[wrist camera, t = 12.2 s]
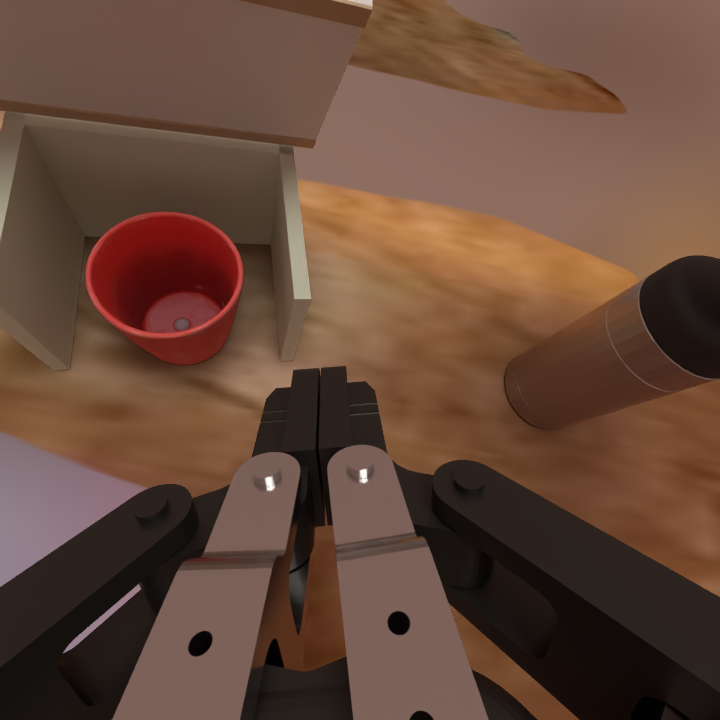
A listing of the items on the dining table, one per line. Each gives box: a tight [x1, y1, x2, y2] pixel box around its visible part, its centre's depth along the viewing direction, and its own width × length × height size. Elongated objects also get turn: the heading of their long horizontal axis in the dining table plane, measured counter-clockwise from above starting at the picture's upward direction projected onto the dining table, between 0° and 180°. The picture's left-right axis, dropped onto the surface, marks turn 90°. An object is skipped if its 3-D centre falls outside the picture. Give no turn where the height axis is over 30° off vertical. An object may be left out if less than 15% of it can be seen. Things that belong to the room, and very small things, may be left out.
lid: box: [0, 0, 372, 148], centre depth 22 cm, size 23×15×1 cm
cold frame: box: [0, 111, 311, 370], centre depth 33 cm, size 20×15×12 cm
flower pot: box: [85, 211, 244, 365], centre depth 33 cm, size 11×11×10 cm
